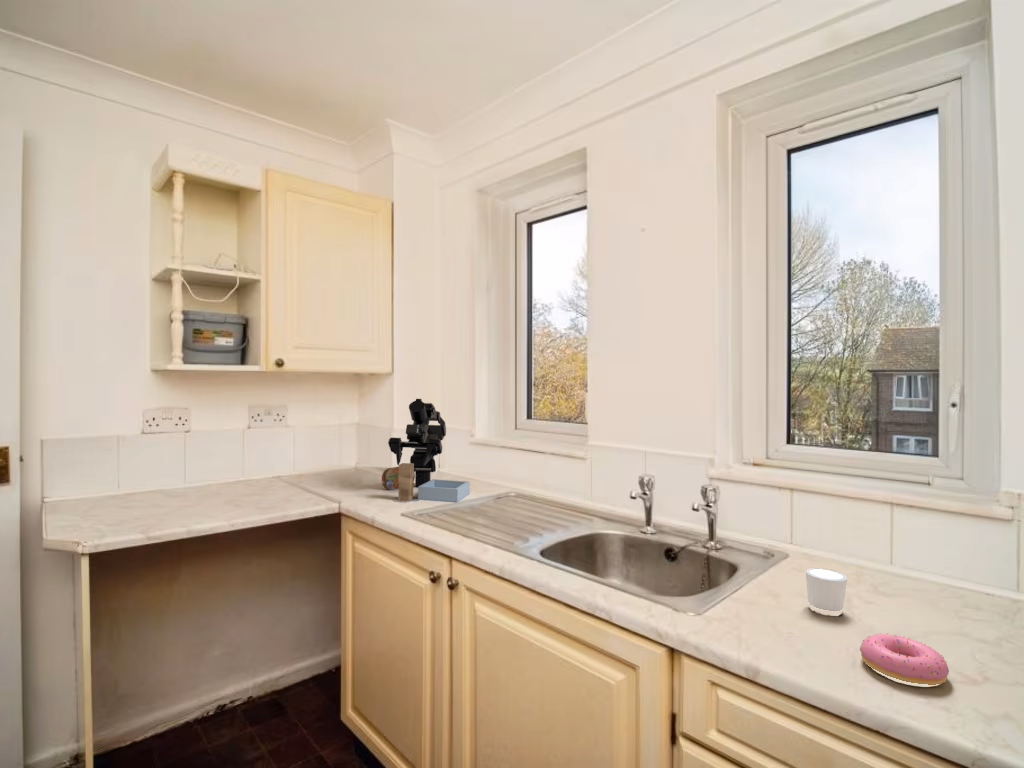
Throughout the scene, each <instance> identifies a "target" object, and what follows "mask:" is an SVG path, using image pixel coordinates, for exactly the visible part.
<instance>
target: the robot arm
mask: <svg viewBox="0 0 1024 768" xmlns="http://www.w3.org/2000/svg"><path fill="white" fill-rule="evenodd" d="M408 410H409V413H410V418H411V421H413V424H409V423H407V424H406V429H405V434H406V439H407V441H404V440H403V441H402V437H390V438H389V439H388V441H387V443H388V446H389V450H390V452H391V453H393V454H394V455H395V456H396V464H397V466H399V465H400V464H401V459H402V456H403V450H404V448H408V449H409V448H411V449H414V450H413V453H412V454H411V455H410V460H409V463H414V473H415V478H414V484H413V488H418V487H419V486H421V485H423V484H425V483H426V482H428V481H430V480H431V474H432V473H435V472H436V470H437V469H436V468H437V466H436V460H435V456H438V455H441V454H442V453H443V444H442V441H443V440H444V438H445V437H446V435H447V427H446V426H447V425H446V422H445V420H444V419H443V418H442V416H441V412H440V411H438V410H436V407H435V406H434V404H433V403H432V402H423V401H422V398H416V399H415V400H414V401H411V402H410V404H409V405H408ZM430 421H431V422H437V423H438V424H430Z"/></svg>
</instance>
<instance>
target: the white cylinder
mask: <svg viewBox="0 0 1024 768" xmlns="http://www.w3.org/2000/svg"><path fill="white" fill-rule="evenodd" d="M805 578H806V593H807V602H809V603H810V605H813V606H814V607H816V608H819V609H823V610H829V611H840V610H842V609H843V610H844V605H845V604H844V603H845V597H846V589H847V582H848V577H847V575H845V574H844V573H841V572H839V571H836V570H833V569H829V568H821V567H812V568H811V567H809V568H807V569H806V571H805Z"/></svg>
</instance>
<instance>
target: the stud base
mask: <svg viewBox="0 0 1024 768" xmlns="http://www.w3.org/2000/svg"><path fill="white" fill-rule="evenodd" d="M418 501H419V500H418V496H417V497H416V496H413V499H412V500H411V501H398V497H394V498H392V502H394V503H402V504H403V503H406V504H407V503H408V504H409V503H415V502H418Z"/></svg>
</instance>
